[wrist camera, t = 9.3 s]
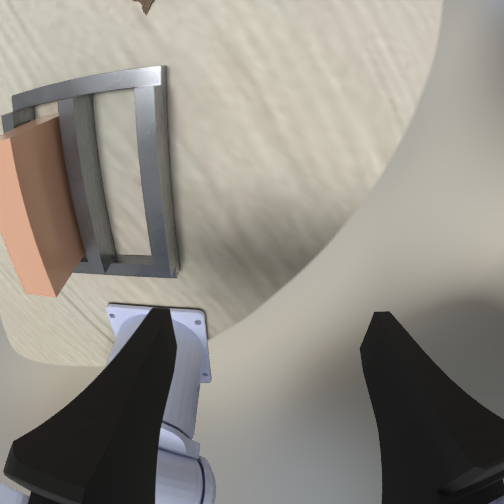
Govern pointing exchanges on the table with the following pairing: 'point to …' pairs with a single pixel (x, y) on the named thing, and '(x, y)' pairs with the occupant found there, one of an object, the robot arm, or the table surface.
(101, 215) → the drying rack
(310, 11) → the table surface
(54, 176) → the terracotta strip
